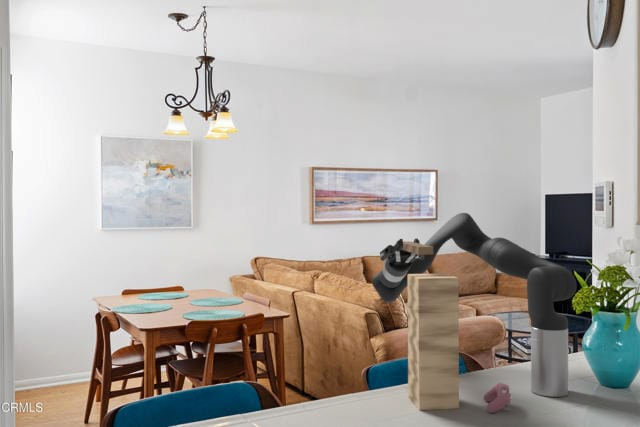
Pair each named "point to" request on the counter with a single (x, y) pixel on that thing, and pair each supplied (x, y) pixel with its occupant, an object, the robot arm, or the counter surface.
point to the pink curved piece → (497, 397)
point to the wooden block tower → (433, 341)
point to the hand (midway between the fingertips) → (409, 241)
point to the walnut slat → (417, 248)
